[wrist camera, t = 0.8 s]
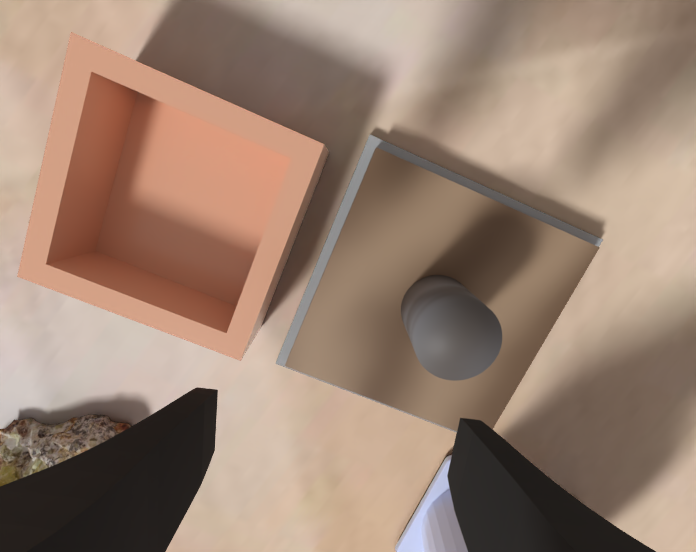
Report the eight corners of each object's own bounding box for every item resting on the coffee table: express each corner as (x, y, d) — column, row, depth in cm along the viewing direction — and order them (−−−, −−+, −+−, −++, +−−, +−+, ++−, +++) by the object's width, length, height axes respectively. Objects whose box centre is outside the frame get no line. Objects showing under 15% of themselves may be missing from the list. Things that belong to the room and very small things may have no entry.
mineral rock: (20, 584, 23) (-119, 524, 19) (58, 511, 26) (-51, 449, 23) (170, 507, 22) (55, 428, 18) (186, 443, 25) (95, 367, 22)
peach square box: (329, 152, 19) (324, 144, 15) (260, 327, 21) (240, 360, 17) (132, 65, 18) (71, 31, 14) (82, 258, 20) (17, 276, 16)
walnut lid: (589, 244, 19) (666, 264, 15) (480, 433, 22) (515, 500, 17) (375, 148, 18) (384, 136, 13) (287, 359, 21) (269, 409, 16)
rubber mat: (598, 238, 20) (603, 239, 19) (481, 438, 22) (483, 442, 22) (369, 135, 18) (369, 134, 18) (276, 360, 21) (275, 363, 21)
